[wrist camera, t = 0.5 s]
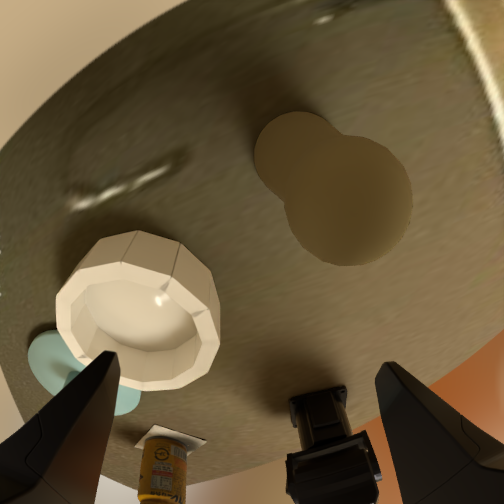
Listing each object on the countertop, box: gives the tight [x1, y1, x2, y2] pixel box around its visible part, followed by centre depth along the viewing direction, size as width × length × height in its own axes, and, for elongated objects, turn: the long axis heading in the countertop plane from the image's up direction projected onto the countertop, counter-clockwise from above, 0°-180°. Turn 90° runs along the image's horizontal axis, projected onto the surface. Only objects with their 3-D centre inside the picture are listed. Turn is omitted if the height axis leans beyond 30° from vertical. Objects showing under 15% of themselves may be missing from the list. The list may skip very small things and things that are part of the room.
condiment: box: [135, 425, 206, 504], centre depth 31 cm, size 7×8×12 cm
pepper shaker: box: [254, 111, 413, 266], centre depth 15 cm, size 6×6×11 cm
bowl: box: [56, 230, 220, 391], centre depth 23 cm, size 12×12×4 cm
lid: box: [28, 330, 141, 416], centre depth 26 cm, size 13×13×5 cm
